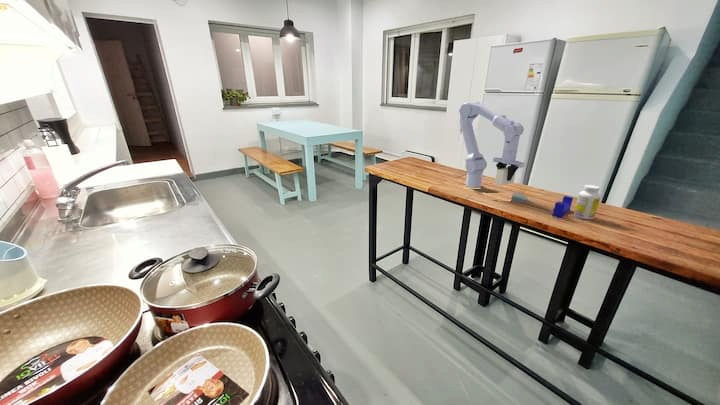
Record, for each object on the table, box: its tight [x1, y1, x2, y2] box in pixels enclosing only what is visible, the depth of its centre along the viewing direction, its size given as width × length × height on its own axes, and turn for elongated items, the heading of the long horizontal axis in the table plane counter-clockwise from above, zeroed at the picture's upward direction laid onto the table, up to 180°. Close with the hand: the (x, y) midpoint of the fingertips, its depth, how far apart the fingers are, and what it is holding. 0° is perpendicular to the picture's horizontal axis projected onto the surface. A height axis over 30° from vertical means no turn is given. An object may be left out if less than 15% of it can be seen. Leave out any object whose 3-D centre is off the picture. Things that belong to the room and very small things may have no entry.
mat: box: [509, 192, 533, 204], centre depth 135 cm, size 13×20×1 cm, turn 79°
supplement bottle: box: [573, 184, 601, 220], centre depth 111 cm, size 7×7×13 cm
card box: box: [494, 166, 516, 186], centre depth 132 cm, size 4×9×7 cm, turn 119°
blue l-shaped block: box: [552, 195, 574, 219], centre depth 117 cm, size 12×4×6 cm, turn 131°
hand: (505, 179), depth 133 cm, fingers closed on card box, 3 cm apart
